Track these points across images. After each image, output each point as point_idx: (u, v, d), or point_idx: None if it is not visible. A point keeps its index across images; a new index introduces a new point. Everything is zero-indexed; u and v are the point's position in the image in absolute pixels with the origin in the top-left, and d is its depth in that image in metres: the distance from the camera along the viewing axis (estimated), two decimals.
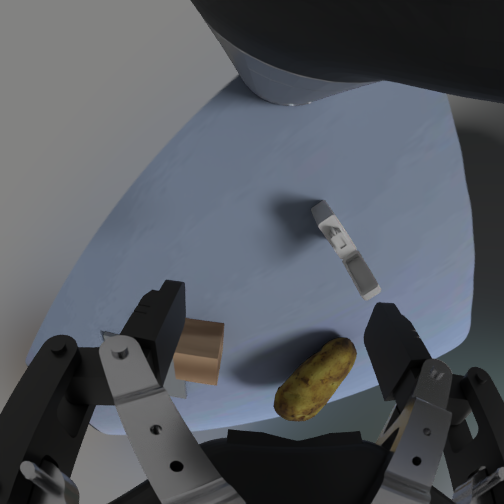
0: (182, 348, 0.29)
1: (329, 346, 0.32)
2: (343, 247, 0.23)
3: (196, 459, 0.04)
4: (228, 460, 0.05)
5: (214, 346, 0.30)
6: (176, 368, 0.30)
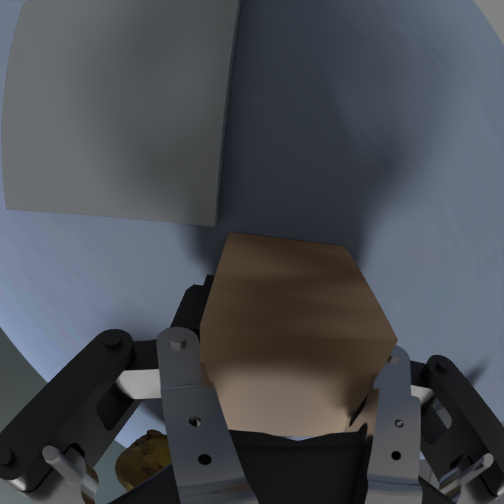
0: None
1: None
2: None
3: (227, 456, 0.04)
4: None
5: None
6: (290, 344, 0.06)
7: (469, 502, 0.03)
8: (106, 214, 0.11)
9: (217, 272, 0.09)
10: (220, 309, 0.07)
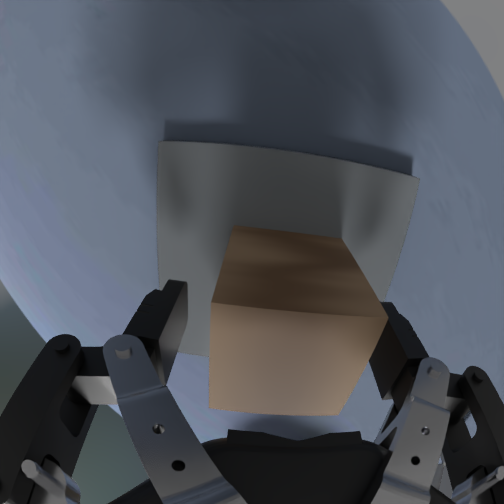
0: None
1: None
2: None
3: (198, 458, 0.04)
4: (228, 460, 0.04)
5: None
6: (291, 319, 0.07)
7: None
8: None
9: (224, 259, 0.10)
10: (228, 289, 0.08)
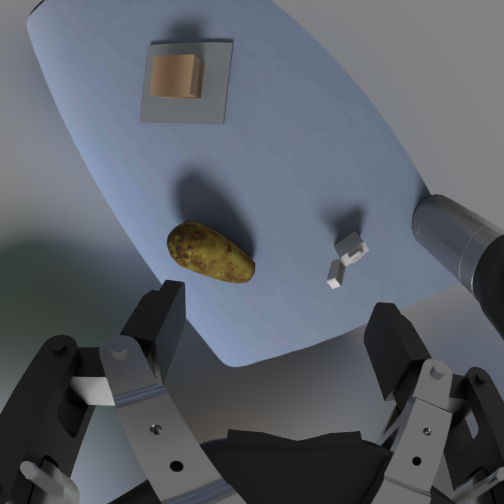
0: (195, 63, 0.27)
1: (251, 259, 0.41)
2: (353, 258, 0.38)
3: (197, 459, 0.04)
4: (228, 460, 0.05)
5: (193, 90, 0.29)
6: (170, 57, 0.26)
7: None
8: (188, 121, 0.35)
9: None
10: None
